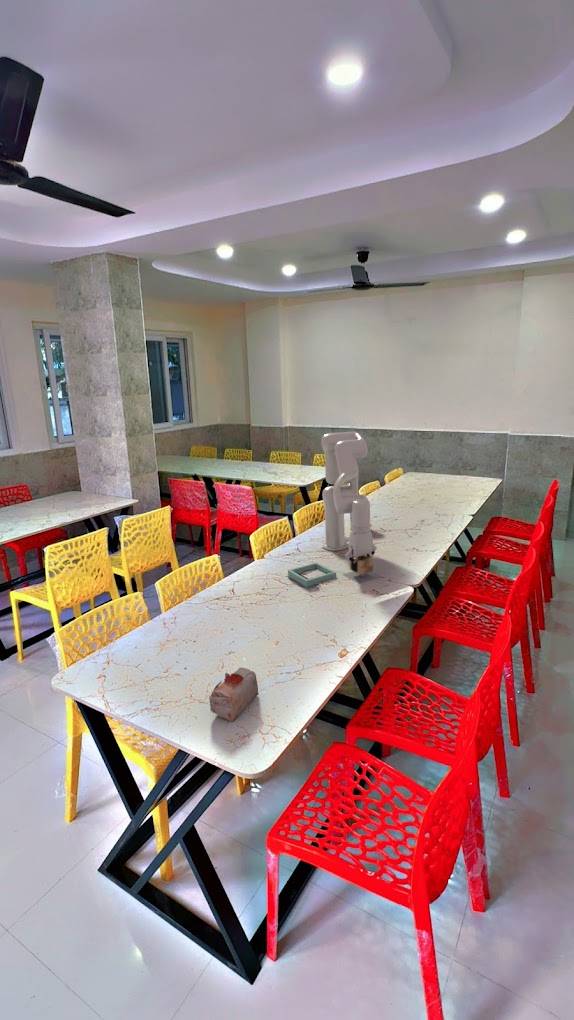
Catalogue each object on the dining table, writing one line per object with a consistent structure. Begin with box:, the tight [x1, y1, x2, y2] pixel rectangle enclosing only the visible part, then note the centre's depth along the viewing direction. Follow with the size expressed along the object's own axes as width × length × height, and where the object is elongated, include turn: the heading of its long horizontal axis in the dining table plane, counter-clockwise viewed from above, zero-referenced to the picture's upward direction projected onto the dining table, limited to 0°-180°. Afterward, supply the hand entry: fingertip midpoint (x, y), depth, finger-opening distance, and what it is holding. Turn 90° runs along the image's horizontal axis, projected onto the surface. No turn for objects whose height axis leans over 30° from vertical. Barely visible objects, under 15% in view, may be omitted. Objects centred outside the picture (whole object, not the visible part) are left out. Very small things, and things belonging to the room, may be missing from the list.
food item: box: [208, 667, 260, 722], centre depth 136 cm, size 14×8×10 cm, turn 151°
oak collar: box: [349, 555, 374, 575], centre depth 216 cm, size 7×7×6 cm
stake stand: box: [342, 570, 383, 585], centre depth 216 cm, size 12×12×8 cm
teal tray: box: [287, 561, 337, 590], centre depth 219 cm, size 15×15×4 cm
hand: (361, 568), depth 216 cm, fingers closed on oak collar, 7 cm apart
